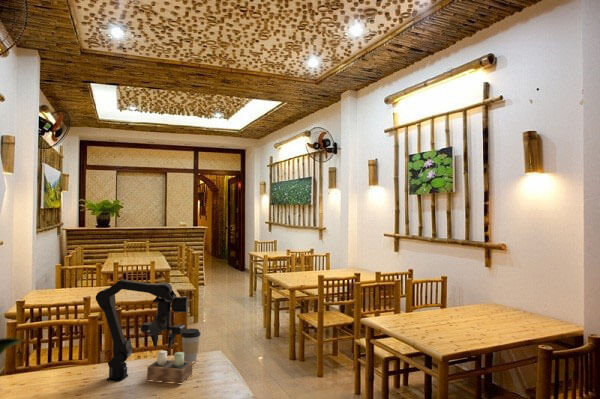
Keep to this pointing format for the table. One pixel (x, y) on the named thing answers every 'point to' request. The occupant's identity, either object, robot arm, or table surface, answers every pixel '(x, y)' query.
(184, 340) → the coffee cup
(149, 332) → the robot arm
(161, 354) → the cream peg
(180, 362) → the sage peg
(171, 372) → the walnut block
